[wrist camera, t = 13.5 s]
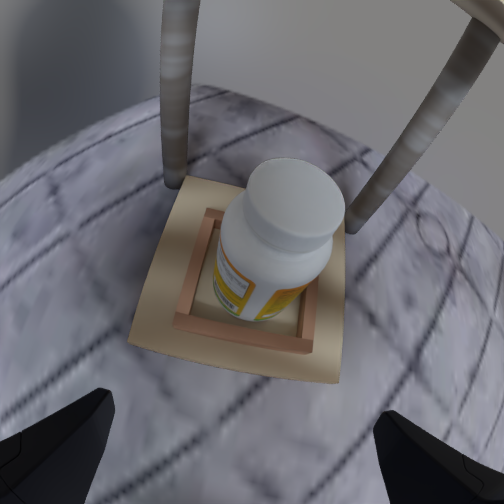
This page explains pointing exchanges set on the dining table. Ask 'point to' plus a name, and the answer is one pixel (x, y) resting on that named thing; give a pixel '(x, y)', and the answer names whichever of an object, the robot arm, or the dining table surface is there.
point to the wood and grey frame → (220, 195)
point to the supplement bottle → (275, 238)
